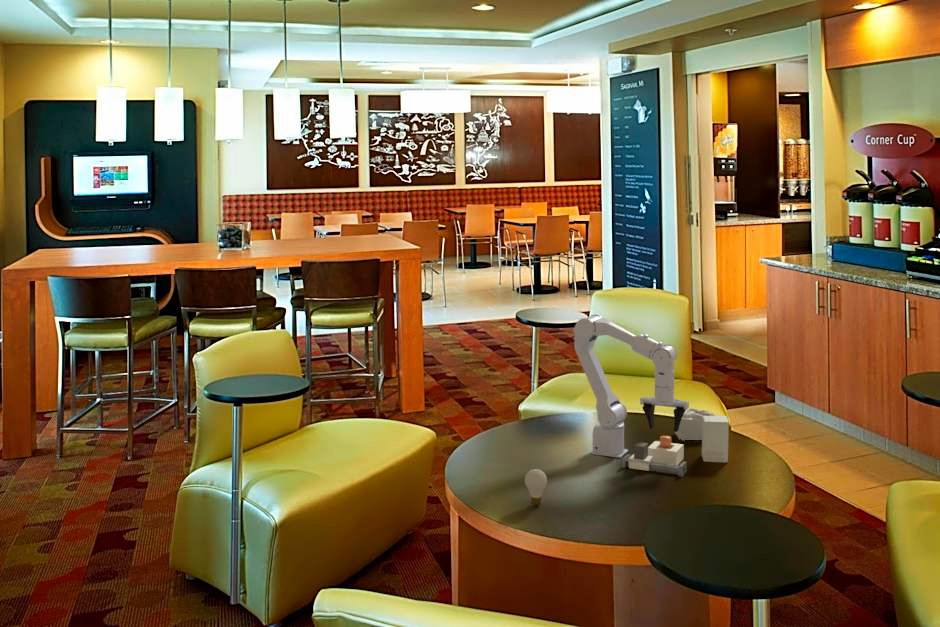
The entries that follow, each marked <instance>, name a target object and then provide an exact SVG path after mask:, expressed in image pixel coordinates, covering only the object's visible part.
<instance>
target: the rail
mask: <svg viewBox="0 0 940 627" xmlns="http://www.w3.org/2000/svg"><path fill="white" fill-rule="evenodd" d="M631 456H632V454H630V453H627V454H626V455H624V457H623V456H622V457H621V469H623V468H626V467H629V458H630V457H631ZM687 463H688V462H687V461H683V460H682V461H681V462H680V463H679V464H678V465H672V464H664V463H657V462H650V463H649V471H650V472H655V471H656V473H663V474H671V475H677V476H678V477H681V478H682V477H684V475H685V474H686V473H687V468H688V467H687V466H688V465H687ZM649 471H648V472H649Z"/></svg>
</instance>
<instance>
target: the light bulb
mask: <svg viewBox="0 0 940 627" xmlns="http://www.w3.org/2000/svg"><path fill="white" fill-rule="evenodd" d="M524 484H525V486H526V488H527V490H528V491H529V492H528V493H529V495H530V499H531V500H530V501H531V502H530V503H531V504H532V505H533V506H535V507H539V506H540V505H541V504H542V496H543V492H544V490H545V488H546V486H547V484H548V478H547V475H546V473H545V472H544V471H543V470H541V469H538V468H537V469H536V468H534V469H530V470H529V471H528V472H527V473H526V474H525V476H524Z"/></svg>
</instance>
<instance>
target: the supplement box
mask: <svg viewBox="0 0 940 627" xmlns="http://www.w3.org/2000/svg"><path fill="white" fill-rule="evenodd" d="M729 423H730V422H729V420H728V416H726V415H716V416H703V420H702V441H701V457H702V460H703V462H704V463H705V462H706V463H726V462H727V463H729V428H730V427H729V425H730V424H729Z"/></svg>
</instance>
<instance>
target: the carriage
mask: <svg viewBox="0 0 940 627" xmlns="http://www.w3.org/2000/svg"><path fill="white" fill-rule="evenodd" d="M648 447H649V443H648V442H642V441H641V442H640V441H638V442H636V443H635V444H634V445H633V454H631V457H630V458H629V468H628V469H633V470H641V471H648V472H649V463H650V462H653V456H648Z"/></svg>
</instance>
